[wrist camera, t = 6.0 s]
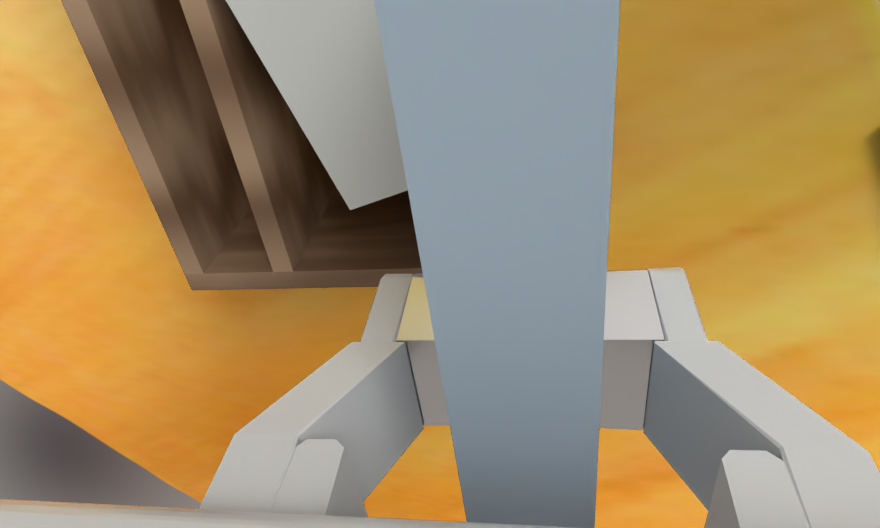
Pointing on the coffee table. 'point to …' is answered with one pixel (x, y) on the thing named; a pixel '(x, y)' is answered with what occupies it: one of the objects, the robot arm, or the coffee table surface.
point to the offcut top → (333, 87)
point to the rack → (231, 154)
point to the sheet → (512, 234)
